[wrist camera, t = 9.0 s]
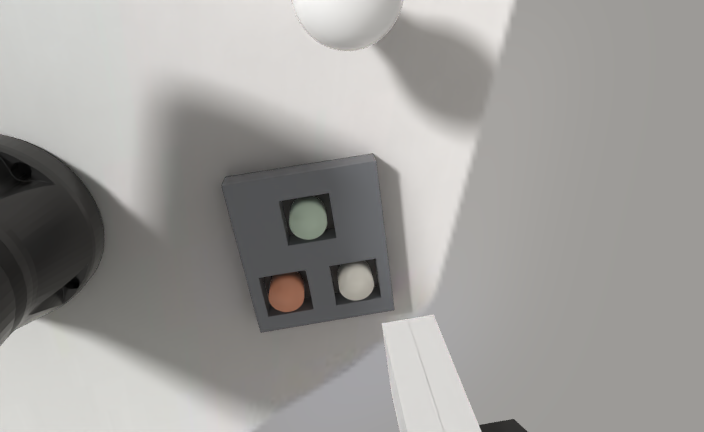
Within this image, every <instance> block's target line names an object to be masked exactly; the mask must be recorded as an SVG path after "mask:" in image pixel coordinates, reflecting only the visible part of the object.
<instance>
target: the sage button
mask: <svg viewBox="0 0 704 432" xmlns="http://www.w3.org/2000/svg"><path fill="white" fill-rule="evenodd" d="M289 226H290V229H291V231H292V232H293V233H294V234H295V235H296V236H297V237H299V238H301V239H306V240H310V239H315V238H317V237H319V236H320V235H322V234H323V233H324V231H325V229H326V227H327V215H326V208H325V205H324V203H323V202H322V201H321V200H320V199H319V198H317V197H314V196H308V197H302V198H298V199H296V200H295V201H294V202H293V203H292V205H291V208H290V217H289Z"/></svg>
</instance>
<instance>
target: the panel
mask: <svg viewBox="0 0 704 432" xmlns="http://www.w3.org/2000/svg"><path fill="white" fill-rule="evenodd" d="M222 190H223V193H224V197H225V201H226V204H227V208H228V212H229V216H230V219H231V223H232V227H233V231H234V234H235V238H236V242H237V246H238V249H239V253H240V257H241V261H242V264H243V268H244V272H245V276H246V279H247V283H248V287H249V291H250V294H251V298H252V302H253V306H254V309H255V313H256V317H257V321H258V324H259V328H260V332H267V331H273V330H279V329H285V328H291V327H297V326H303V325H309V324H314V323H320V322H326V321H332V320H338V319H344V318H350V317H356V316H362V315H368V314H374V313H380V312H386V311H392V310H394V303H393V295H392V287H391V278H390V270H389V262H388V254H387V246H386V237H385V229H384V221H383V213H382V205H381V197H380V188H379V180H378V172H377V164H376V160H375V157H374V155H373V154H367V155H361V156H354V157H348V158H342V159H336V160H329V161H323V162H317V163H310V164H304V165H298V166H292V167H285V168H279V169H273V170H267V171H260V172H254V173H248V174H242V175H235V176H229V177H225V179H224V181H223V183H222ZM326 193H329V197H330V202H331V208H332V214H333V220H334V226H335V228H330V229H325V231H324V233H323V234H322V235H320V236H319V237H317V238H315V239H310V240H306V239H301V238H299V237H297V236H296V235H295V234H293V235H289V233H288V228H287V224H286V219H285V214H284V210H283V205H282V201H283V200H289V199H295V198H302V197H308V196H314V195H320V194H326ZM370 259H375V265H376V272H377V280H378V286H374V288H373V291H372V292H371V294H370V295H369V296H368V297H366V298H364V299H362V300H349V299H347V298H345V297H344V296H343V295H342V294H341V293H340V292H338V293H335V290H334V284H333V279H332V273H331V267H330V266H333V265H340V264H346V263H352V262H358V261H364V260H370ZM303 270H306V274H307V279H308V284H309V289H310V293H311V297H308V298H304V301H303V303H302V305H301V306H300V307H299V308H298V309H296V310H294V311H291V312H282V311H279V310H276V309H275V308H274V307H273V306H272V305H271V304H270V302H269V298H268V294H267V290H266V286H265V282H264V278H263V277H267V276H273V275H279V274H285V273H291V272H297V271H303Z"/></svg>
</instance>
